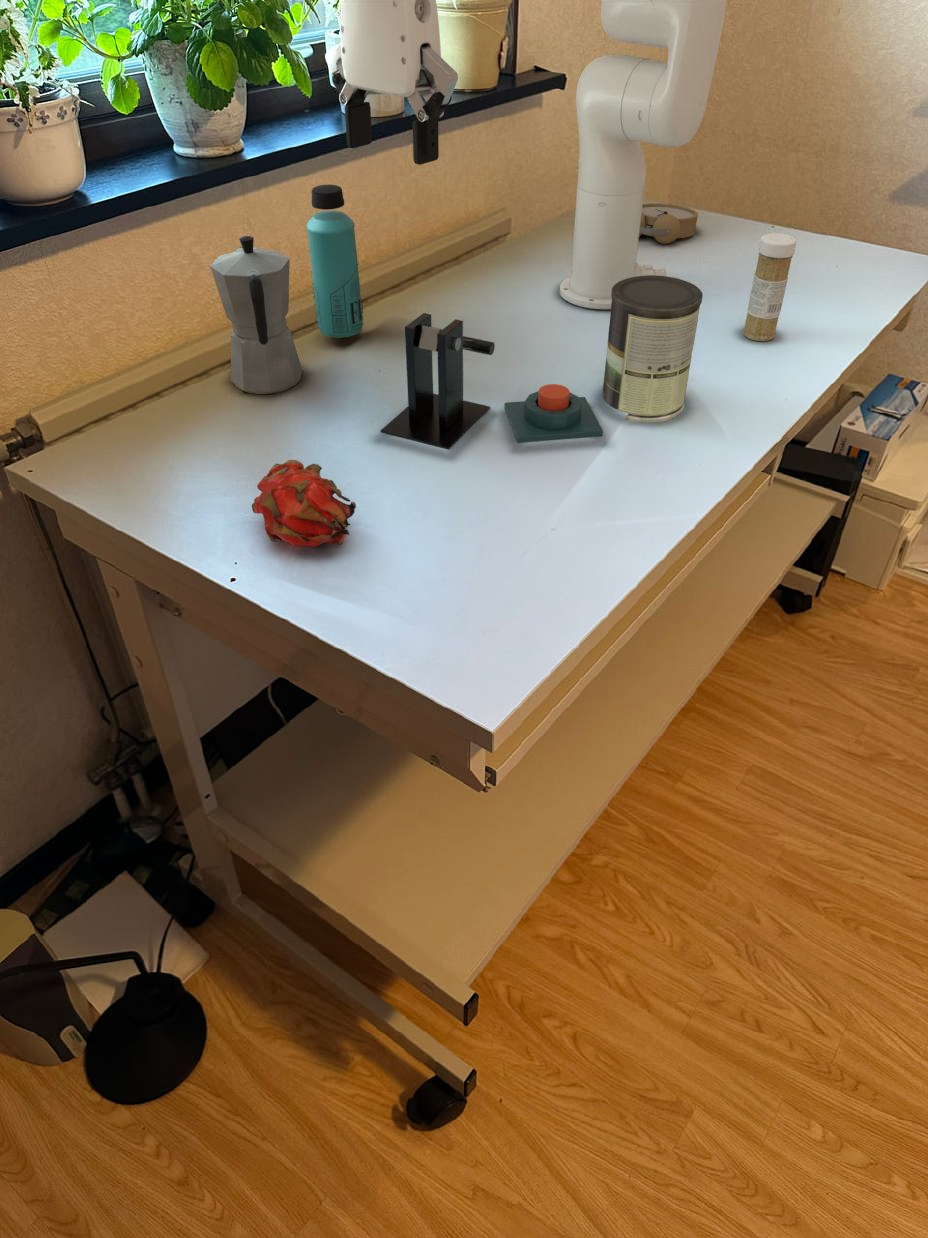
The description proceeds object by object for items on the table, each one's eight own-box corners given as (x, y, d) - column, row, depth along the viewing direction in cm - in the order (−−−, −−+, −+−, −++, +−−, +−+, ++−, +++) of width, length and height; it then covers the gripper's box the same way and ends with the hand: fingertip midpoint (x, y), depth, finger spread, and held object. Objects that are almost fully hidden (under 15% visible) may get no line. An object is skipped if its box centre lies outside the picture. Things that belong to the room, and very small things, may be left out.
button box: (583, 408, 115) (586, 382, 112) (601, 443, 108) (604, 416, 106) (503, 414, 114) (504, 388, 111) (517, 450, 107) (518, 422, 105)
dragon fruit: (274, 521, 99) (349, 582, 94) (216, 511, 92) (294, 576, 86) (310, 451, 97) (389, 509, 92) (253, 435, 89) (336, 497, 84)
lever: (452, 350, 115) (456, 330, 115) (492, 359, 114) (496, 338, 113) (405, 344, 104) (408, 322, 103) (449, 354, 102) (453, 331, 102)
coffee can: (583, 403, 116) (593, 291, 107) (634, 376, 121) (648, 268, 112) (650, 432, 110) (667, 316, 101) (701, 403, 116) (721, 291, 106)
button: (564, 396, 110) (565, 382, 109) (571, 410, 108) (573, 397, 107) (535, 398, 110) (535, 385, 109) (541, 413, 107) (542, 399, 106)
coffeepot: (227, 360, 125) (202, 221, 113) (297, 353, 127) (280, 215, 115) (235, 414, 114) (209, 266, 102) (312, 405, 116) (295, 258, 104)
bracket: (425, 399, 117) (422, 299, 108) (490, 415, 113) (492, 312, 105) (380, 439, 109) (373, 334, 101) (449, 457, 106) (447, 350, 98)
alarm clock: (709, 210, 164) (675, 217, 153) (702, 240, 166) (668, 249, 155) (651, 199, 168) (614, 205, 158) (645, 228, 171) (608, 236, 160)
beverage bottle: (357, 350, 127) (344, 196, 115) (311, 346, 129) (293, 193, 116) (370, 330, 132) (359, 180, 119) (325, 327, 133) (310, 178, 120)
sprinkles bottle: (767, 327, 133) (788, 230, 124) (780, 341, 129) (803, 242, 121) (736, 330, 132) (755, 232, 124) (749, 343, 129) (769, 244, 120)
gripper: (480, -42, 85) (477, 161, 96) (349, -54, 94) (360, 133, 105) (425, -36, 81) (428, 176, 92) (292, -49, 89) (310, 146, 100)
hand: (392, 153), depth 98 cm, fingers open, 9 cm apart
